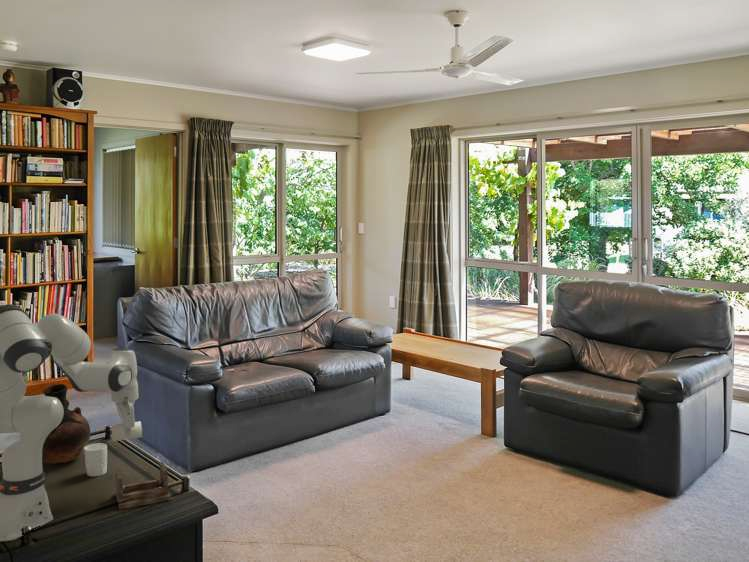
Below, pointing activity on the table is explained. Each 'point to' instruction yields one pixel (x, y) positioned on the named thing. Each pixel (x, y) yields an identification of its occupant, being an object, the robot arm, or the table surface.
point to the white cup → (96, 459)
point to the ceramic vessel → (65, 431)
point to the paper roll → (119, 432)
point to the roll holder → (143, 490)
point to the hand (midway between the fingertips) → (126, 433)
